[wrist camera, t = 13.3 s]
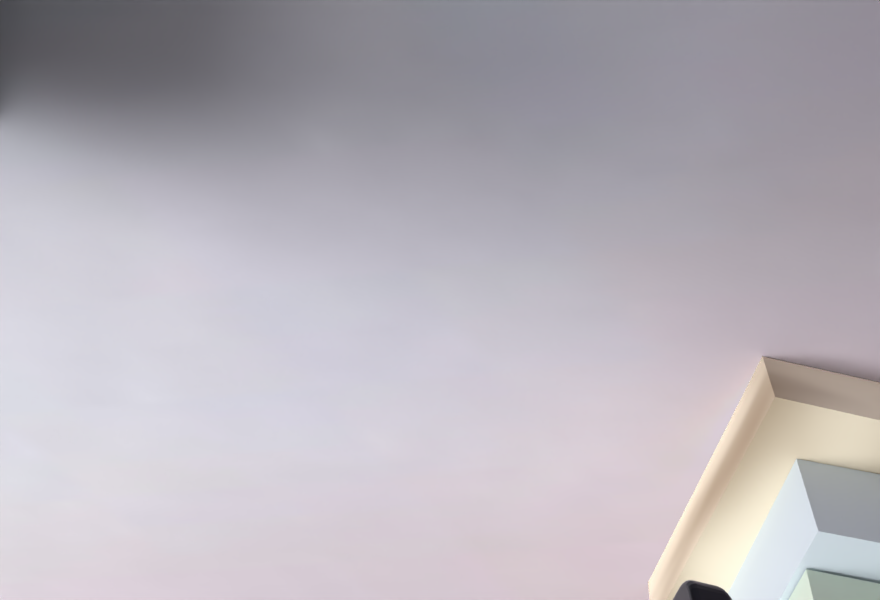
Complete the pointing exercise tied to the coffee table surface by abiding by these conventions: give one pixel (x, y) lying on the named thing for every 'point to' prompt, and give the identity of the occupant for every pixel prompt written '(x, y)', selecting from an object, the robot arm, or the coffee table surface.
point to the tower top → (814, 532)
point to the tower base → (767, 465)
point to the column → (833, 588)
